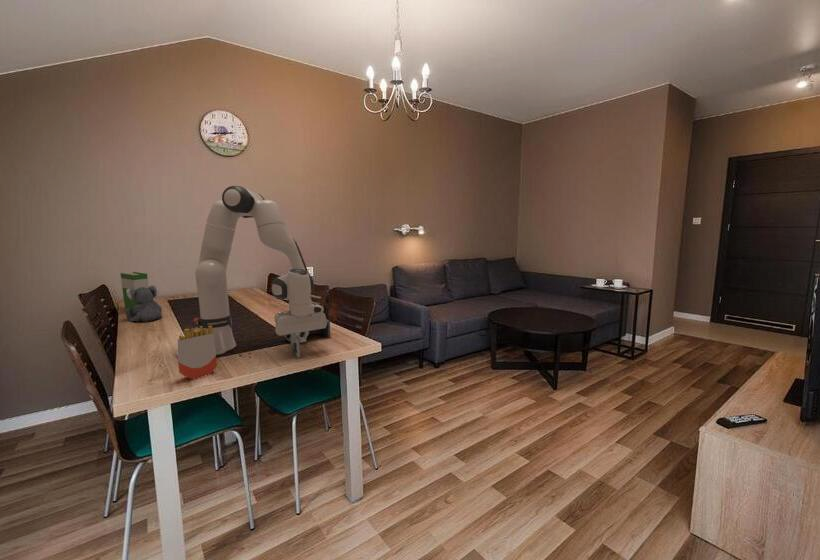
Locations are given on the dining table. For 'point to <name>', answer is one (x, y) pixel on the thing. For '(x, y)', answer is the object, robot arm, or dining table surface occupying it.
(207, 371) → the french fries container
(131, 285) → the green and white box
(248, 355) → the dining table surface
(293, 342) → the side door
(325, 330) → the camera housing
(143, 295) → the koala plush
